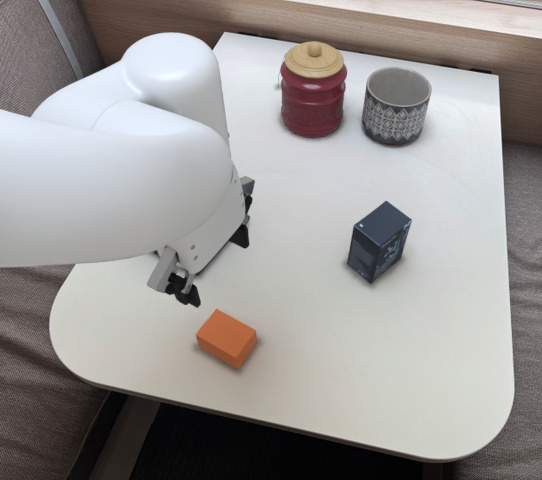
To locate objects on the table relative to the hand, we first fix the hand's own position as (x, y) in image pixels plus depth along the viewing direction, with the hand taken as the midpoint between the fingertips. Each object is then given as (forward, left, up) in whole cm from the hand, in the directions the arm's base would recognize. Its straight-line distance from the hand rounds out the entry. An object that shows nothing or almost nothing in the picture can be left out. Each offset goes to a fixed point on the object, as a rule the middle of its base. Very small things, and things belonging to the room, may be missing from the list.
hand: (214, 270), depth 62 cm
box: (+25, -12, -19) cm, 34 cm away
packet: (0, 0, -19) cm, 19 cm away
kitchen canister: (+51, +15, -19) cm, 57 cm away
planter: (+58, 0, -19) cm, 61 cm away
